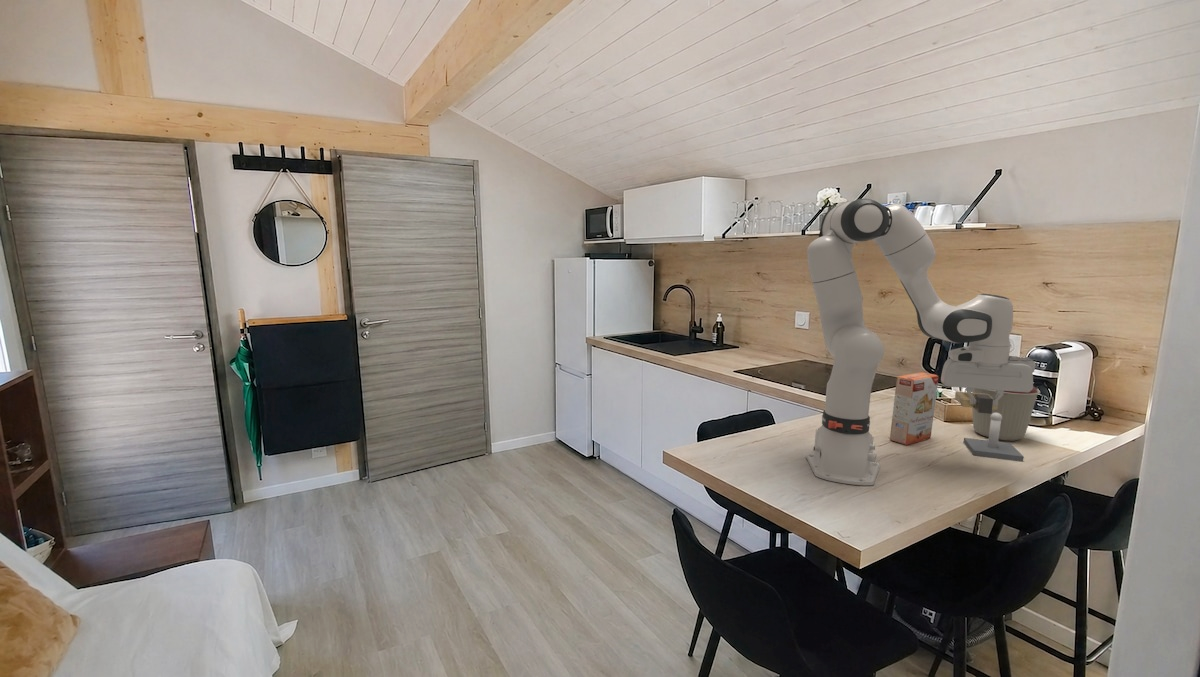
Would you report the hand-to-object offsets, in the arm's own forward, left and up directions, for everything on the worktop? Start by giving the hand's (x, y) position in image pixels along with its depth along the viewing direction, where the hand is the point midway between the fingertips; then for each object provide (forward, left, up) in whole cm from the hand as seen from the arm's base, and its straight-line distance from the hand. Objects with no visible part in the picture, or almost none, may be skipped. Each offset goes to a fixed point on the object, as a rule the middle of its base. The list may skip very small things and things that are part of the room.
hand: (983, 404), depth 146 cm
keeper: (+17, -8, -18) cm, 26 cm away
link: (+5, 0, -2) cm, 5 cm away
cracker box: (+19, +13, -18) cm, 29 cm away
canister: (+35, -14, -18) cm, 42 cm away
